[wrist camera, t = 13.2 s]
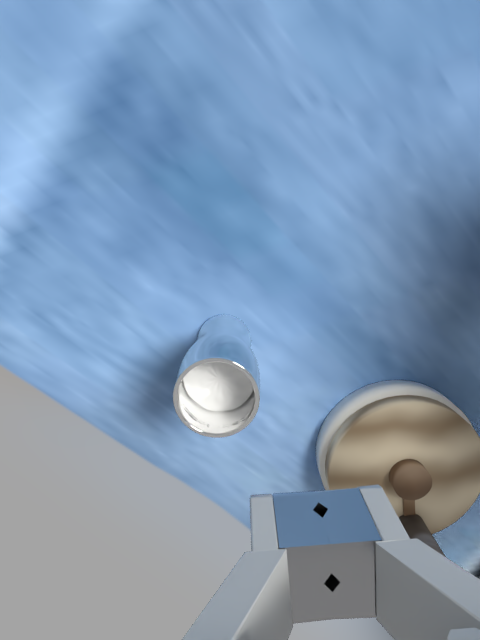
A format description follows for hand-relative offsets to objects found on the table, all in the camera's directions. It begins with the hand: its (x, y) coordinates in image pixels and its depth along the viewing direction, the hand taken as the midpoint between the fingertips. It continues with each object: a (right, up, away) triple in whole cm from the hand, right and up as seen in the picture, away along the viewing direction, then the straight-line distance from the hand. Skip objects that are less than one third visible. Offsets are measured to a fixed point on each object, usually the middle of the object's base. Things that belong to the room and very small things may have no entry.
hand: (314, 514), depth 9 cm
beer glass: (-4, +2, +35) cm, 35 cm away
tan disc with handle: (+16, -12, +35) cm, 40 cm away
